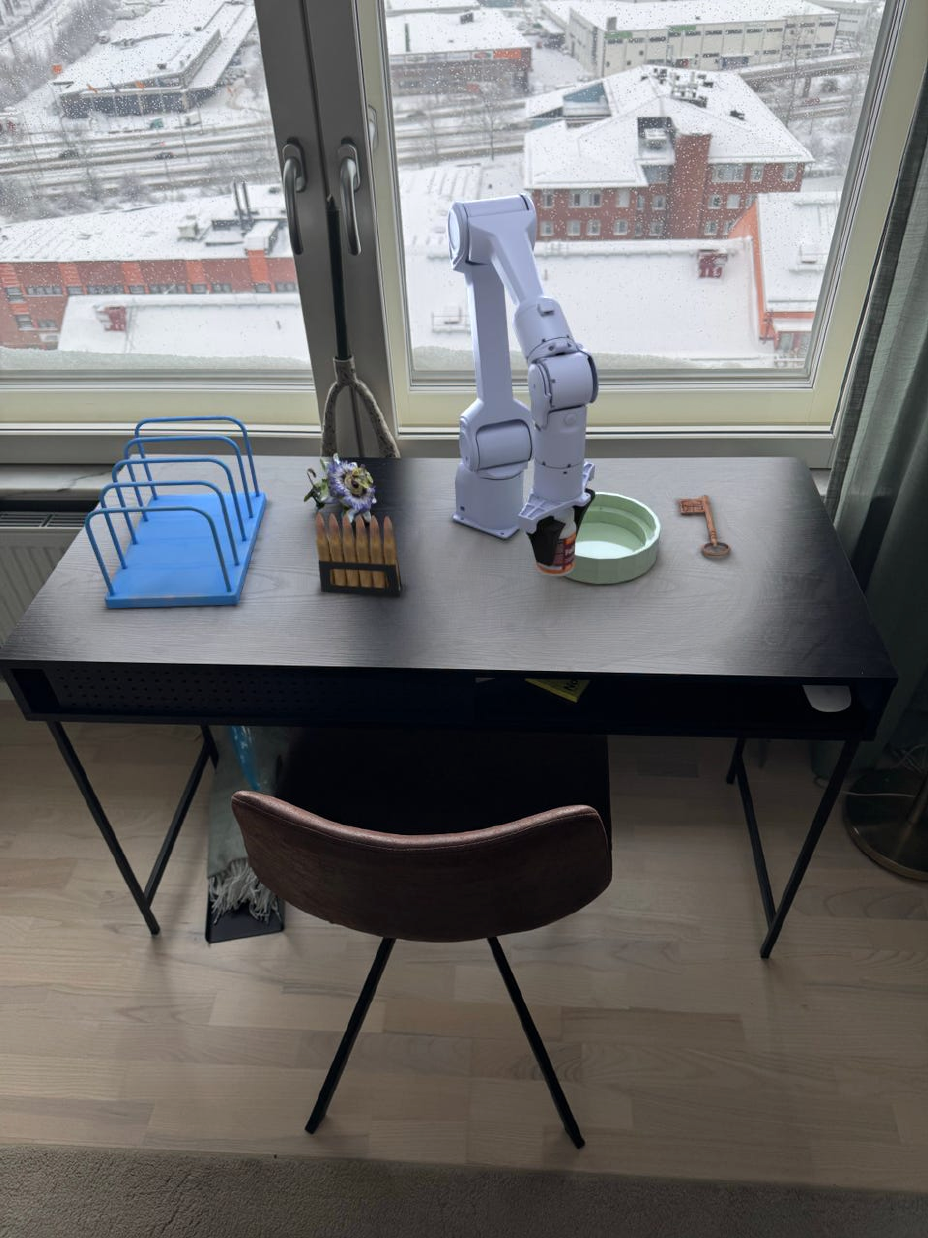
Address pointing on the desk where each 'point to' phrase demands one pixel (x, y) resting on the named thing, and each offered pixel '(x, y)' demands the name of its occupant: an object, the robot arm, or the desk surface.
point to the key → (712, 532)
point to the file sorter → (182, 533)
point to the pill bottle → (563, 546)
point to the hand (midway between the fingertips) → (555, 552)
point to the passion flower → (344, 489)
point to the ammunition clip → (357, 558)
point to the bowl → (615, 540)
